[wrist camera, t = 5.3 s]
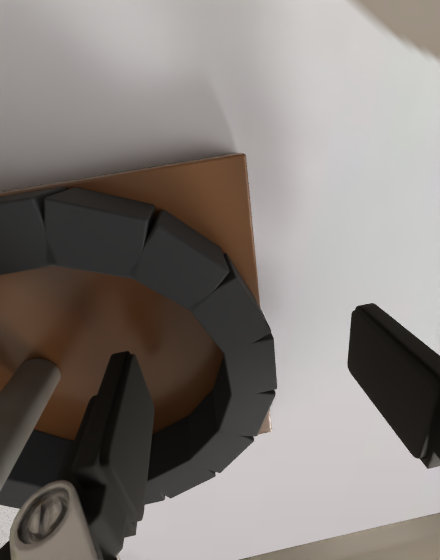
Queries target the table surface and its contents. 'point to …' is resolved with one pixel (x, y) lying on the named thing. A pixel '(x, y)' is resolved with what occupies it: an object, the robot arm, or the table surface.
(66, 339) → the stand
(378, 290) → the table surface
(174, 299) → the ring
